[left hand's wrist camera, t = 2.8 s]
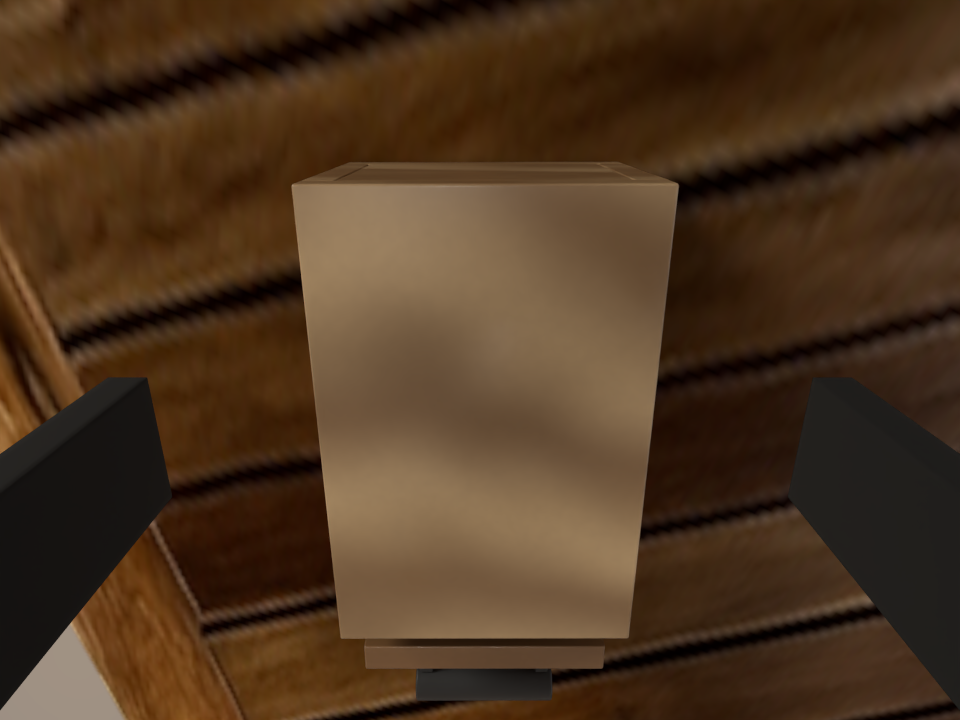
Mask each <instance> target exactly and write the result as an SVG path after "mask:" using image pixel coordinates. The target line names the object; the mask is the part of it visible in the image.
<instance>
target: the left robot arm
mask: <svg viewBox="0 0 960 720" xmlns="http://www.w3.org/2000/svg"><path fill="white" fill-rule="evenodd" d="M171 498H172V494H171V489H170V484H169V479H168V475H167V470H166V465H165V460H164V456H163V451H162V446H161V441H160V437H159V432H158V427H157V423H156V418H155V413H154V408H153V404H152V399H151V394H150V389H149V385H148V380H147V378H107V379H106V380H104V381H103V382H101V383H100V384H98V385H97V386H96V387H94V388H93V389H91V390H90V391H89V392H87V393H86V394H84V395H83V396H82V397H80V398H79V399H77V400H76V401H74V402H73V403H72V404H70V405H69V406H67V407H66V408H65V409H63V410H62V411H60V412H59V413H58V414H56V415H55V416H53V417H52V418H50V419H49V420H48V421H46V422H45V423H43V424H42V425H41V426H39V427H38V428H36V429H35V430H34V431H32V432H31V433H29V434H28V435H26V436H25V437H24V438H22V439H21V440H19V441H18V442H17V443H15V444H14V445H12V446H11V447H9V448H8V449H7V450H5V451H4V452H2V453H1V454H0V710H1V709H2V707H3V706H4V705H5V704H6V702H7V701H8V700H9V699H10V697H11V696H12V695H13V694H14V692H15V691H16V690H17V689H18V687H19V686H20V685H21V684H22V682H23V681H24V680H25V679H26V678H27V676H28V675H29V674H30V673H31V671H32V670H33V669H34V668H35V666H36V665H37V664H38V663H39V661H40V660H41V659H42V658H43V656H44V655H45V654H46V653H47V651H48V650H49V649H50V648H51V647H52V645H53V644H54V643H55V642H56V640H57V639H58V638H59V637H60V635H61V634H62V633H63V632H64V630H65V629H66V628H67V627H68V625H69V624H70V623H71V622H72V620H73V619H74V618H75V617H76V615H77V614H78V613H79V612H80V611H81V609H82V608H83V607H84V606H85V604H86V603H87V602H88V601H89V599H90V598H91V597H92V596H93V594H94V593H95V592H96V591H97V589H98V588H99V587H100V586H101V584H102V583H103V582H104V581H105V579H106V578H107V577H108V576H109V575H110V573H111V572H112V571H113V570H114V568H115V567H116V566H117V565H118V563H119V562H120V561H121V560H122V558H123V557H124V556H125V555H126V553H127V552H128V551H129V550H130V548H131V547H132V546H133V545H134V543H135V542H136V541H137V540H138V538H139V537H140V536H141V535H142V534H143V532H144V531H145V530H146V529H147V527H148V526H149V525H150V524H151V522H152V521H153V520H154V519H155V517H156V516H157V515H158V514H159V512H160V511H161V510H162V509H163V507H164V506H165V505H166V504H167V502H168V501H169V500H170V499H171ZM788 498H789V499H790V500H791V501H792V502H793V504H794V505H795V506H796V507H797V509H798V510H799V511H800V512H801V514H802V515H803V516H804V517H805V519H806V520H807V521H808V522H809V524H810V525H811V526H812V527H813V529H814V530H815V531H816V532H817V534H818V535H819V536H820V537H821V538H822V540H823V541H824V542H825V543H826V545H827V546H828V547H829V548H830V550H831V551H832V552H833V553H834V555H835V556H836V557H837V558H838V560H839V561H840V562H841V563H842V565H843V566H844V567H845V568H846V570H847V571H848V572H849V573H850V575H851V576H852V577H853V578H854V579H855V581H856V582H857V583H858V584H859V586H860V587H861V588H862V589H863V591H864V592H865V593H866V594H867V596H868V597H869V598H870V599H871V601H872V602H873V603H874V604H875V606H876V607H877V608H878V609H879V611H880V612H881V613H882V614H883V615H884V617H885V618H886V619H887V620H888V622H889V623H890V624H891V625H892V627H893V628H894V629H895V630H896V632H897V633H898V634H899V635H900V637H901V638H902V639H903V640H904V642H905V643H906V644H907V645H908V647H909V648H910V649H911V650H912V652H913V653H914V654H915V655H916V656H917V658H918V659H919V660H920V661H921V663H922V664H923V665H924V666H925V668H926V669H927V670H928V671H929V673H930V674H931V675H932V676H933V678H934V679H935V680H936V681H937V683H938V684H939V685H940V686H941V688H942V689H943V690H944V691H945V692H946V694H947V695H948V696H949V697H950V699H951V700H952V701H953V702H954V704H955V705H956V706H957V707H958V709H959V710H960V454H959V453H958V452H956V451H955V450H953V449H952V448H951V447H949V446H948V445H946V444H945V443H943V442H942V441H941V440H939V439H938V438H936V437H935V436H934V435H932V434H931V433H929V432H928V431H926V430H925V429H924V428H922V427H921V426H919V425H918V424H917V423H915V422H914V421H912V420H911V419H910V418H908V417H907V416H905V415H904V414H902V413H901V412H900V411H898V410H897V409H895V408H894V407H893V406H891V405H890V404H888V403H887V402H886V401H884V400H883V399H881V398H880V397H878V396H877V395H876V394H874V393H873V392H871V391H870V390H869V389H867V388H866V387H864V386H863V385H862V384H860V383H859V382H857V381H856V380H854V379H853V378H813V380H812V385H811V389H810V394H809V399H808V404H807V408H806V413H805V418H804V423H803V427H802V432H801V437H800V441H799V446H798V451H797V456H796V460H795V465H794V470H793V475H792V479H791V484H790V489H789V494H788Z"/></svg>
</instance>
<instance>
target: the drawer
mask: <svg viewBox="0 0 960 720" xmlns="http://www.w3.org/2000/svg"><path fill="white" fill-rule="evenodd" d="M604 651H605V645H604V641H603V638H481V639H366V640H365V645H364V652H365V663H366V668H367V669H417V673H416V698H417V700H551V698H552V673H551V669H601V668H603V661H604Z"/></svg>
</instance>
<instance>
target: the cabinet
mask: <svg viewBox="0 0 960 720" xmlns="http://www.w3.org/2000/svg"><path fill="white" fill-rule="evenodd" d="M678 188H679V185H678V184H677V183H675V182H672V181H669V180H668V179H665V178H662V177H659V176H656V175H654V174H651V173H648V172H645V171H642V170H640V169H637V168H634V167H631V166H628V165H626V164H622V163H619V162H350V163H347V164H344V165H342V166H339V167H337V168H334V169H331V170H329V171H326V172H323V173H321V174H318V175H315V176H313V177H310V178H308V179H305V180H303V181H300V182H297V183H295V184H292V195H293V204H294V213H295V222H296V232H297V241H298V250H299V259H300V268H301V277H302V287H303V296H304V305H305V314H306V323H307V333H308V342H309V351H310V360H311V369H312V378H313V388H314V397H315V406H316V415H317V424H318V434H319V443H320V452H321V461H322V470H323V479H324V489H325V498H326V507H327V516H328V525H329V535H330V544H331V553H332V562H333V571H334V580H335V590H336V599H337V608H338V617H339V626H340V636H341V638H342V639H481V638H628V637H629V629H630V620H631V611H632V602H633V593H634V584H635V575H636V566H637V557H638V548H639V539H640V530H641V521H642V512H643V503H644V494H645V485H646V476H647V467H648V458H649V449H650V440H651V431H652V422H653V413H654V404H655V395H656V386H657V377H658V368H659V359H660V350H661V341H662V332H663V323H664V314H665V305H666V296H667V287H668V278H669V269H670V260H671V251H672V242H673V233H674V224H675V215H676V206H677V197H678Z"/></svg>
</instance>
